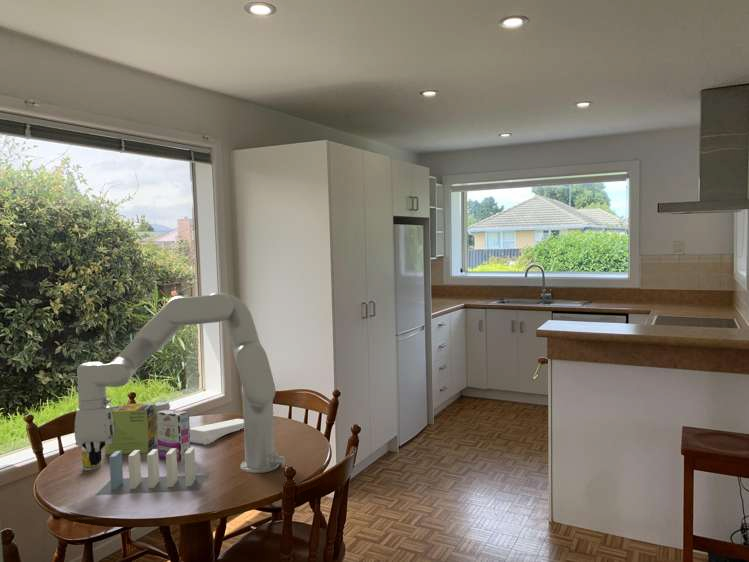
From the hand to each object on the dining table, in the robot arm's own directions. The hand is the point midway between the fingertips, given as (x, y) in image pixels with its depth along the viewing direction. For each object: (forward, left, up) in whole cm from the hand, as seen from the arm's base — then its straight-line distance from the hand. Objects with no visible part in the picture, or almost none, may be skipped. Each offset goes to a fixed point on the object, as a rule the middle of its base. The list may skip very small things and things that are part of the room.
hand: (95, 463), depth 171 cm
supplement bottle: (+15, -14, -8) cm, 22 cm away
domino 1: (-11, -4, -7) cm, 14 cm away
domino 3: (-21, -8, -7) cm, 24 cm away
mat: (-16, -6, -8) cm, 19 cm away
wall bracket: (-8, -56, -8) cm, 57 cm away
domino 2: (-16, -6, -7) cm, 19 cm away
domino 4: (-26, -10, -7) cm, 29 cm away
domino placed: (-6, -2, -7) cm, 9 cm away
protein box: (+15, -33, -8) cm, 37 cm away
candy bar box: (-7, -28, -8) cm, 30 cm away
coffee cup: (+17, -51, -8) cm, 54 cm away
